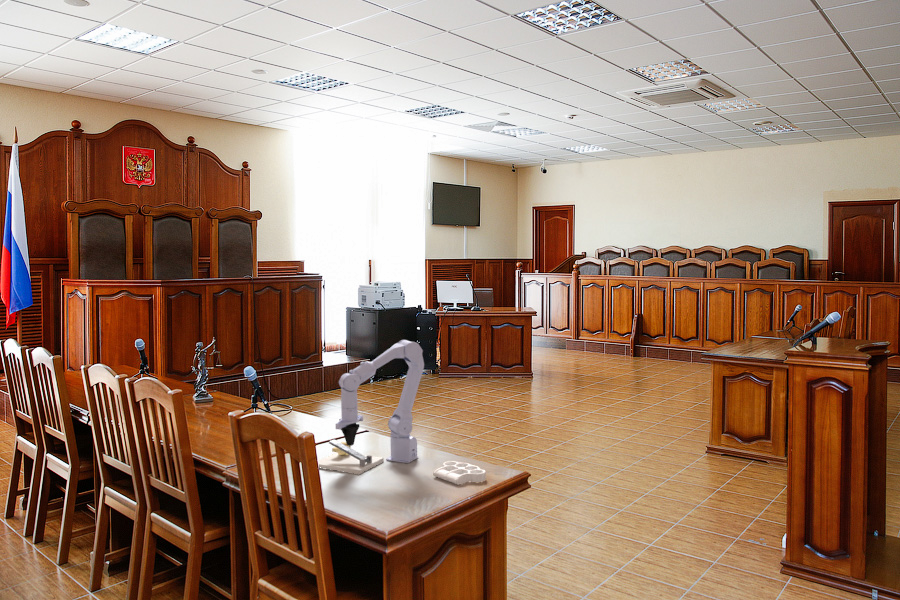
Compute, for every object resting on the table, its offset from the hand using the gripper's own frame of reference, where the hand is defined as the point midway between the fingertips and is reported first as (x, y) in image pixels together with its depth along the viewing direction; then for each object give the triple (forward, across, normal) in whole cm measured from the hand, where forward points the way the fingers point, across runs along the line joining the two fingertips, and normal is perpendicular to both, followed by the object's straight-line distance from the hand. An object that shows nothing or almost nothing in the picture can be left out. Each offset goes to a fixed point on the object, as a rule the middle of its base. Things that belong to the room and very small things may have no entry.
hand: (350, 444), depth 235 cm
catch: (+6, -5, -8) cm, 11 cm away
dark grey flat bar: (+3, 0, -1) cm, 3 cm away
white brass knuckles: (+8, -5, +41) cm, 42 cm away
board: (+8, -2, -2) cm, 8 cm away
